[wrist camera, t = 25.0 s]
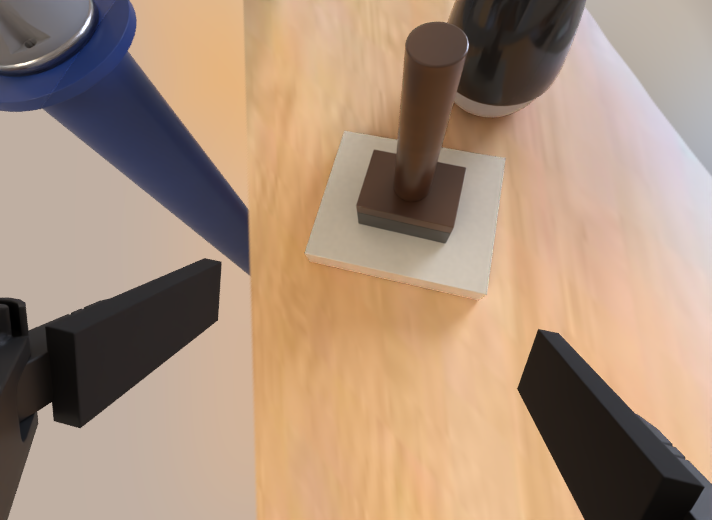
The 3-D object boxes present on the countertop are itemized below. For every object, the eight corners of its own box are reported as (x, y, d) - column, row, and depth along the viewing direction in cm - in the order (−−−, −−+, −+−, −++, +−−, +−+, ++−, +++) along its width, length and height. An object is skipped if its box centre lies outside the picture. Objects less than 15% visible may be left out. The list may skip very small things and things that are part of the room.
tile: (309, 261, 28) (304, 253, 26) (346, 145, 32) (344, 130, 30) (479, 300, 26) (487, 294, 24) (497, 171, 30) (505, 158, 28)
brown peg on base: (358, 223, 27) (339, 74, 14) (374, 171, 28) (371, -8, 15) (445, 244, 26) (516, 104, 13) (457, 188, 27) (532, 12, 14)
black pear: (562, 89, 32) (708, -139, 18) (493, 155, 30) (595, -43, 16) (479, 38, 35) (548, -194, 21) (410, 95, 33) (435, -118, 19)
